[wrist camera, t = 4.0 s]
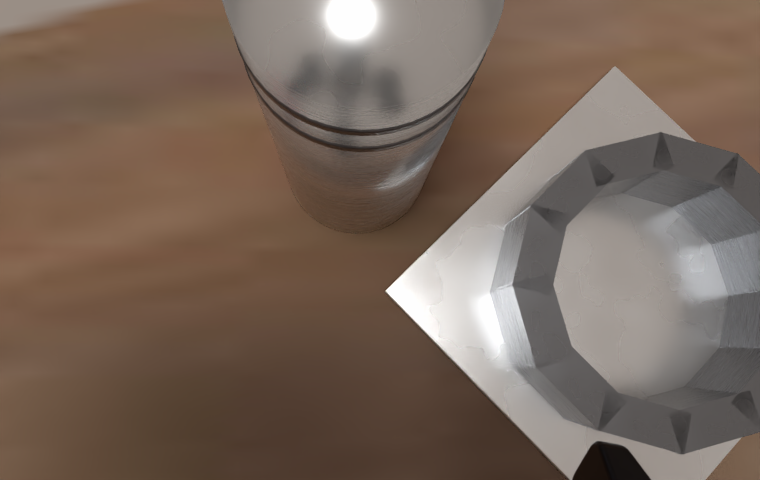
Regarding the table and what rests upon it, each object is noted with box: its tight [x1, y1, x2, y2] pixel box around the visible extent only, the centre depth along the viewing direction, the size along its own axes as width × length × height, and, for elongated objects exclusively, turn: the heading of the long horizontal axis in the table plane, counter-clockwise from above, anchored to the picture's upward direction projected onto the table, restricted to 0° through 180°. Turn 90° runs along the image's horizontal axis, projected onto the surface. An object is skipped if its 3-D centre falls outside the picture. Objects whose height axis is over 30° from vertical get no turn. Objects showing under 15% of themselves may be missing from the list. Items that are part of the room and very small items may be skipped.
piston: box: [222, 0, 504, 233], centre depth 17 cm, size 5×5×12 cm
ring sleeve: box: [385, 66, 760, 480], centre depth 21 cm, size 12×12×4 cm
